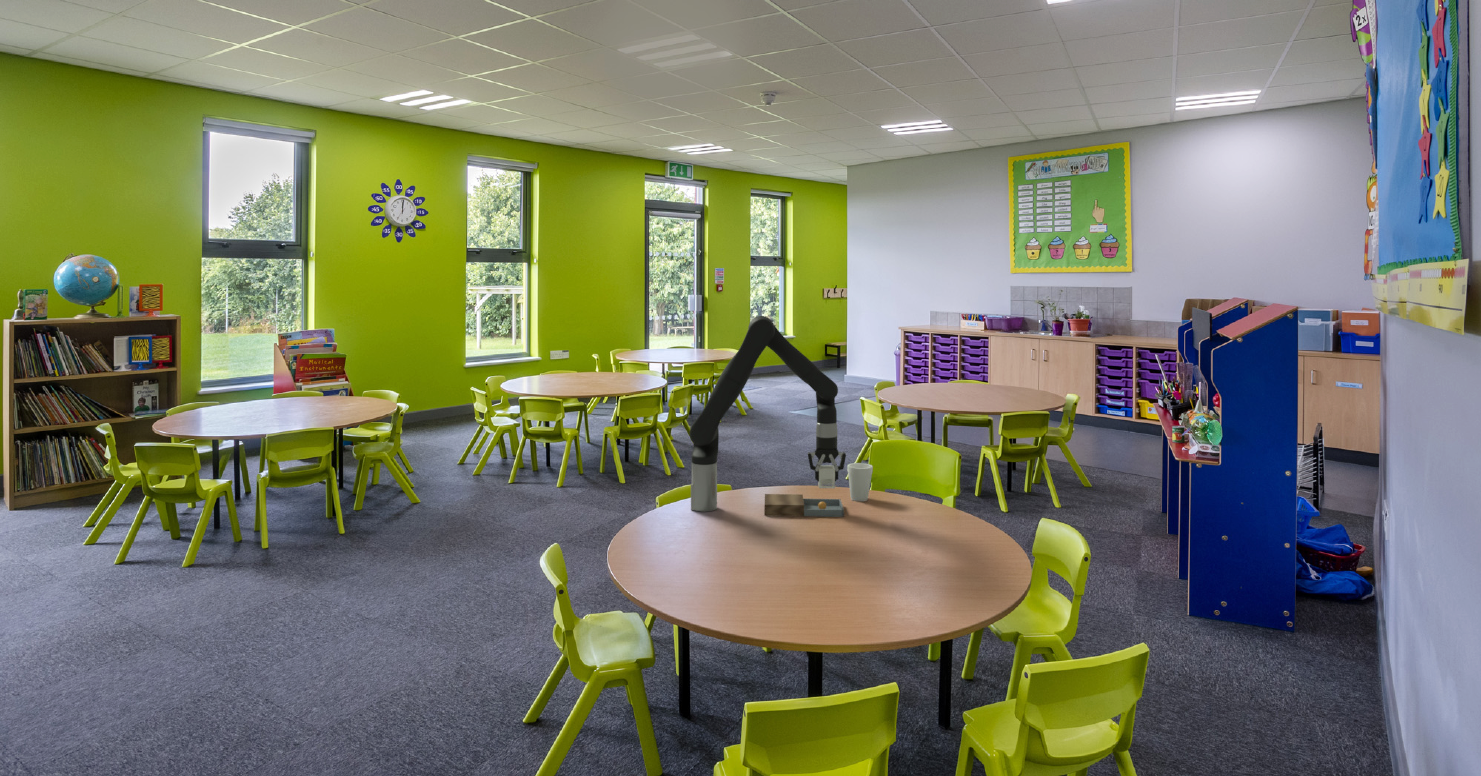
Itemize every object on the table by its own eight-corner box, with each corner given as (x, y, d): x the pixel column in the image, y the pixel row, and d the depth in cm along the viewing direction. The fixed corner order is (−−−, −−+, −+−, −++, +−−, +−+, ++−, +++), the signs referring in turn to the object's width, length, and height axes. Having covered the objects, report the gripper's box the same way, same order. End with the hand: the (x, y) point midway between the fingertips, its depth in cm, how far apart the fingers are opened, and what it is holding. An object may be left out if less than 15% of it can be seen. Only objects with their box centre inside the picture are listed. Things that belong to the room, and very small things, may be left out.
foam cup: (842, 497, 299) (842, 464, 298) (862, 494, 303) (863, 462, 302) (855, 503, 291) (856, 469, 289) (876, 500, 295) (877, 467, 293)
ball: (828, 508, 280) (821, 512, 280) (827, 505, 283) (820, 510, 283) (823, 501, 279) (816, 505, 280) (823, 499, 282) (816, 503, 283)
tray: (804, 516, 275) (804, 509, 274) (802, 505, 289) (802, 498, 288) (843, 516, 274) (843, 509, 274) (840, 505, 288) (840, 499, 288)
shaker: (819, 488, 277) (819, 469, 276) (818, 484, 283) (818, 465, 282) (834, 488, 277) (834, 469, 276) (833, 484, 283) (833, 465, 282)
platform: (764, 515, 275) (764, 504, 275) (764, 504, 289) (764, 493, 289) (804, 516, 275) (804, 505, 274) (802, 505, 289) (802, 494, 288)
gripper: (807, 436, 274) (807, 483, 276) (847, 436, 273) (847, 483, 276) (806, 432, 281) (806, 478, 284) (846, 432, 281) (845, 478, 283)
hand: (826, 480), depth 280 cm, fingers closed on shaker, 5 cm apart
